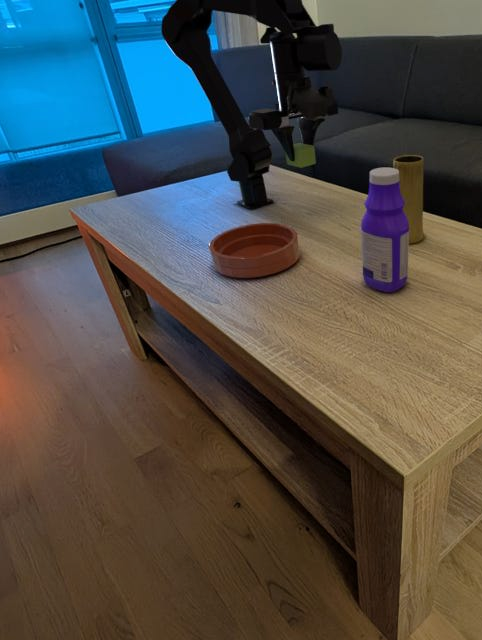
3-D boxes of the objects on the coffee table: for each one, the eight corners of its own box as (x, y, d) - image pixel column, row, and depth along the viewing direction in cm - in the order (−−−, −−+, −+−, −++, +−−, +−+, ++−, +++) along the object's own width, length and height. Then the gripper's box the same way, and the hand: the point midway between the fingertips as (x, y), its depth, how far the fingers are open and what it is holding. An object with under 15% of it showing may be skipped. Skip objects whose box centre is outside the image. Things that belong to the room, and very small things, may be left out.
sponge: (287, 164, 96) (284, 146, 93) (301, 160, 98) (299, 142, 96) (301, 168, 93) (298, 149, 90) (316, 163, 95) (314, 145, 92)
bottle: (414, 284, 71) (417, 169, 60) (392, 298, 68) (391, 180, 57) (379, 271, 75) (377, 162, 64) (356, 284, 72) (350, 172, 61)
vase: (423, 231, 88) (425, 153, 79) (423, 244, 83) (427, 162, 74) (391, 231, 88) (391, 154, 80) (390, 244, 84) (390, 164, 75)
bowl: (199, 262, 83) (193, 241, 80) (269, 236, 90) (266, 217, 88) (242, 289, 73) (237, 267, 71) (317, 258, 81) (314, 237, 78)
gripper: (273, 79, 75) (287, 175, 85) (354, 66, 85) (358, 154, 94) (238, 77, 82) (255, 167, 92) (316, 65, 92) (324, 147, 101)
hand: (300, 158), depth 94 cm, fingers closed on sponge, 4 cm apart
